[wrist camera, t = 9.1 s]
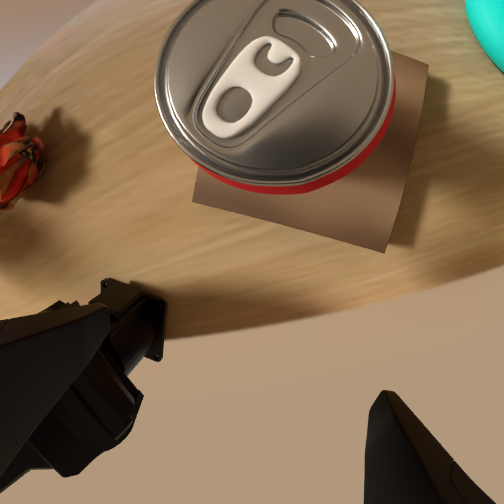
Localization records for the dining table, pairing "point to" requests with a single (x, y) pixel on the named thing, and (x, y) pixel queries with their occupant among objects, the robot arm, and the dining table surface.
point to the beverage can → (275, 90)
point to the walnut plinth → (344, 180)
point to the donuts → (488, 27)
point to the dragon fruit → (18, 161)
